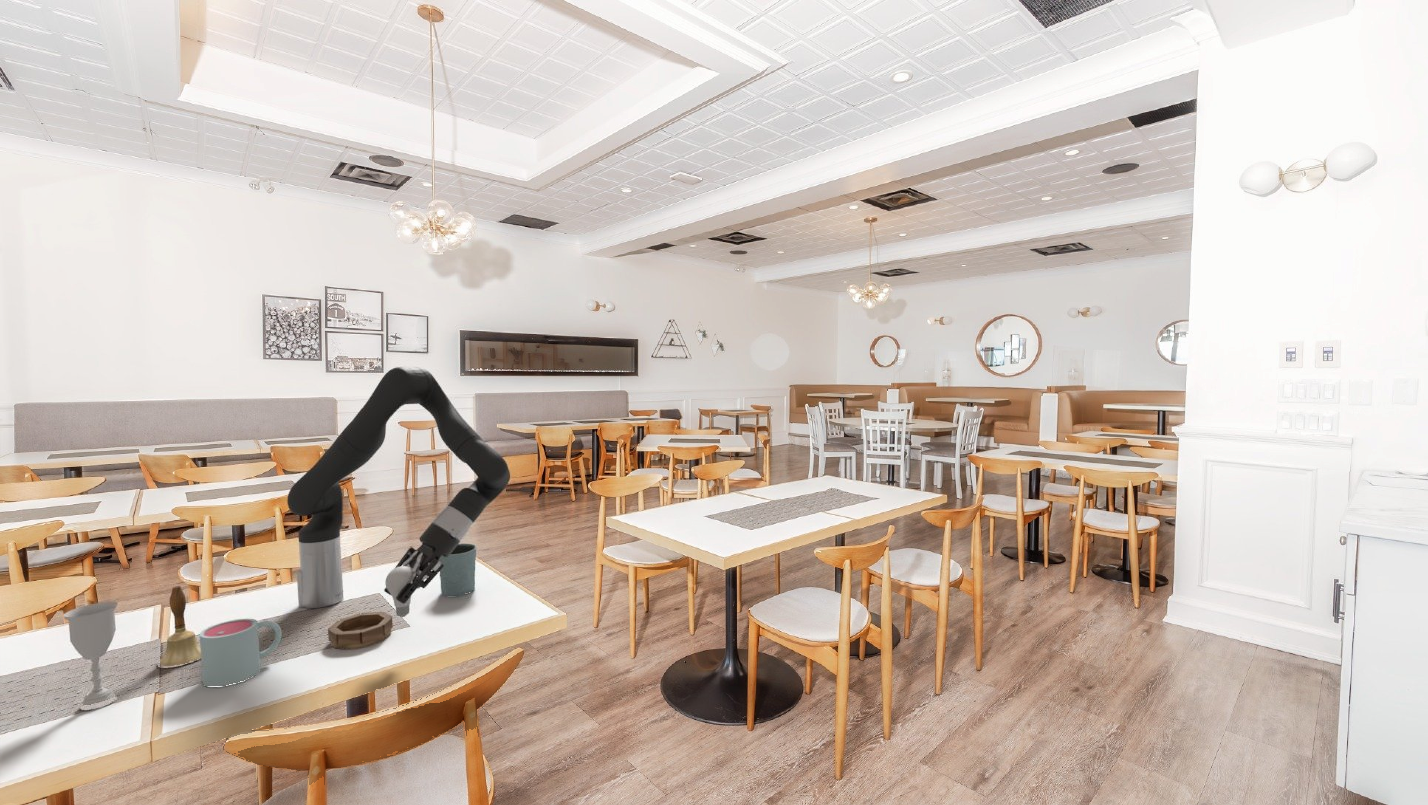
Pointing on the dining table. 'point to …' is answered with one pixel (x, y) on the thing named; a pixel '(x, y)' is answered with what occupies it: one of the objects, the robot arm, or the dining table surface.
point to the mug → (233, 650)
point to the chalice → (93, 641)
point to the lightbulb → (399, 587)
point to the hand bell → (180, 635)
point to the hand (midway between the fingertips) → (393, 597)
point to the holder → (360, 630)
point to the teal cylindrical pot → (458, 571)
